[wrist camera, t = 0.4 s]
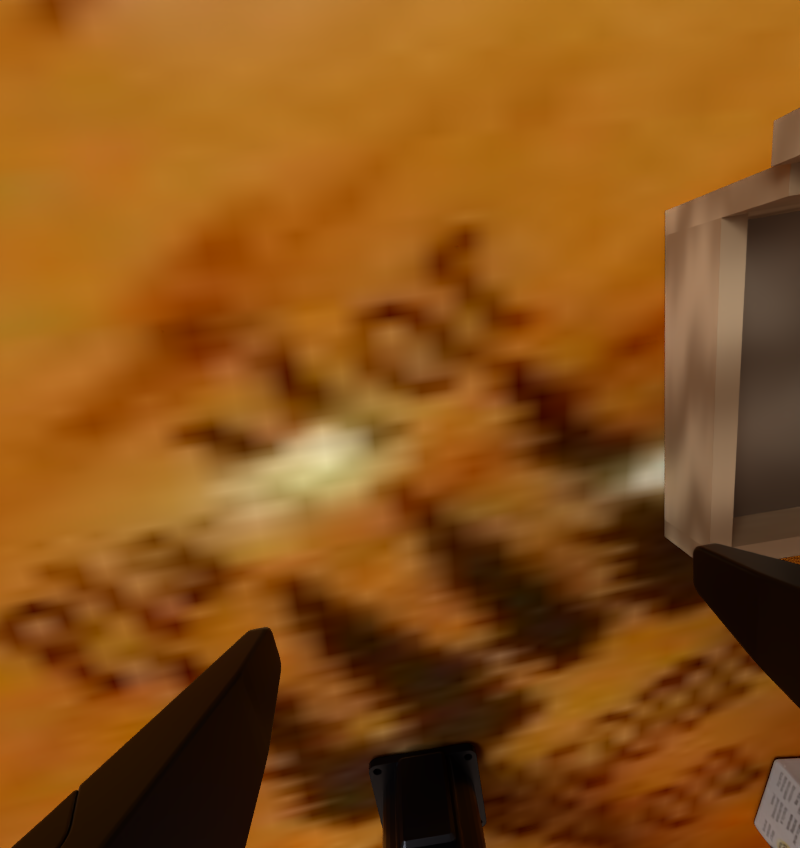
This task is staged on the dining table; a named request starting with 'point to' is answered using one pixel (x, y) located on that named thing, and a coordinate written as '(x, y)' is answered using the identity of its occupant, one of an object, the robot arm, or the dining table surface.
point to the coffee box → (781, 805)
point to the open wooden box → (735, 360)
